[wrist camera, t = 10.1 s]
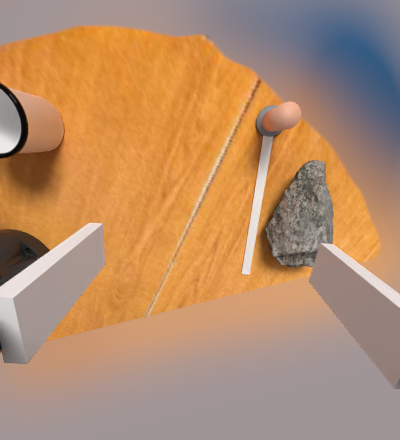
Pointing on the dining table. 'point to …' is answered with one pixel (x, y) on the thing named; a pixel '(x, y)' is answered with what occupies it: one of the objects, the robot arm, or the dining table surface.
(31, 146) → the mug
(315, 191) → the rock
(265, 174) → the crank handle
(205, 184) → the dining table surface
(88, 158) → the dining table surface
